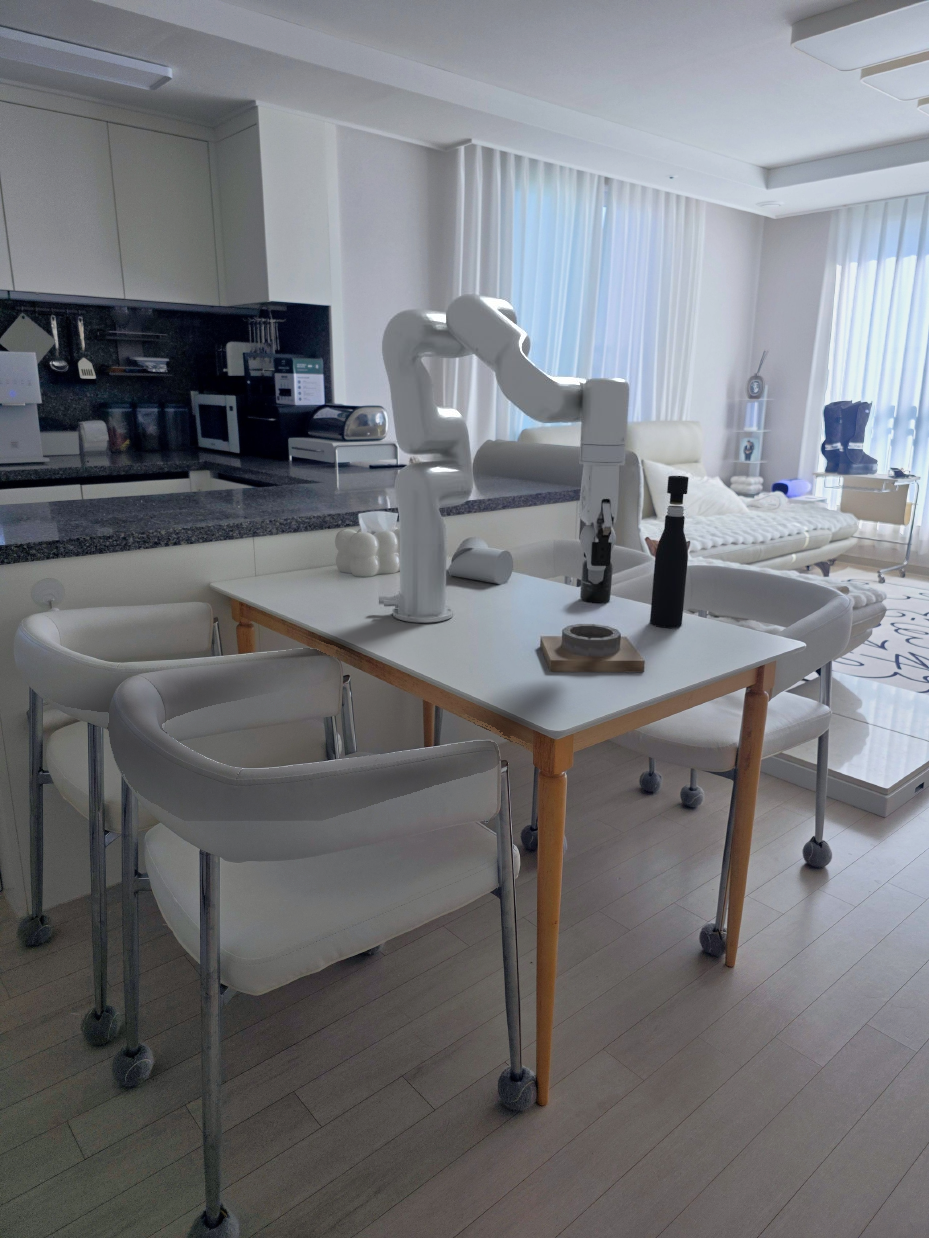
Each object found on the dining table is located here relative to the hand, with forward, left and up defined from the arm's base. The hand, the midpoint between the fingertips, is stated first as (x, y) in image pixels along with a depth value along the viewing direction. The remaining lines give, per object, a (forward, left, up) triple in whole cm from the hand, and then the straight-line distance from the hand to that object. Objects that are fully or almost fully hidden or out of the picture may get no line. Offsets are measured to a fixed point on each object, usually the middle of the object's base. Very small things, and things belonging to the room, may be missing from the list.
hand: (596, 560), depth 142 cm
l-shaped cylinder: (-16, +67, -18) cm, 71 cm away
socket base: (0, 0, -18) cm, 18 cm away
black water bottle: (+20, +23, -18) cm, 35 cm away
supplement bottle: (+9, +42, -18) cm, 47 cm away
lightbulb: (0, 0, -4) cm, 4 cm away
